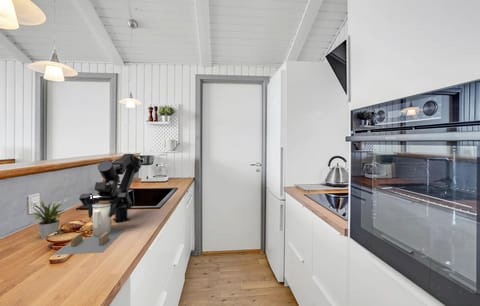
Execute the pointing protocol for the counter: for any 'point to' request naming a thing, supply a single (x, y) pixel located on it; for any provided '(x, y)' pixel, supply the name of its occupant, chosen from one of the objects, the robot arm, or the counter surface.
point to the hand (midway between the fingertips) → (99, 217)
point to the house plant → (48, 219)
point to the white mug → (101, 218)
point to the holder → (90, 243)
